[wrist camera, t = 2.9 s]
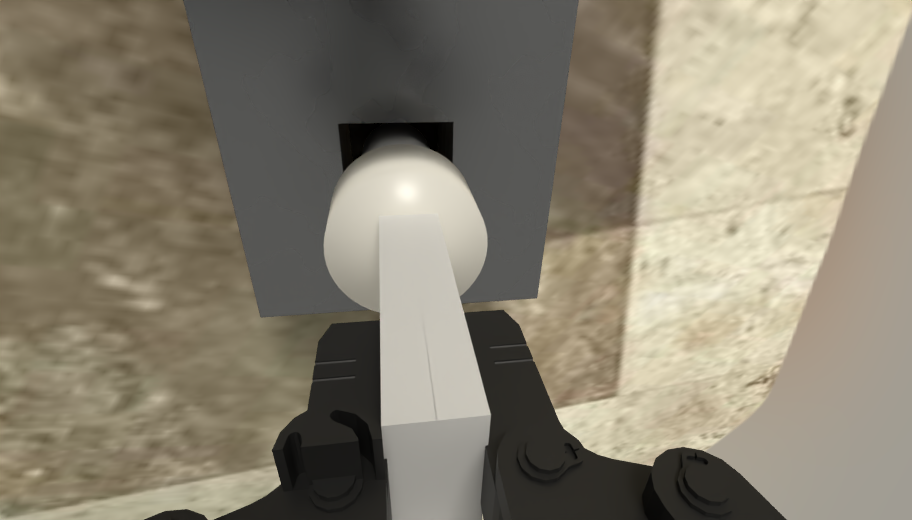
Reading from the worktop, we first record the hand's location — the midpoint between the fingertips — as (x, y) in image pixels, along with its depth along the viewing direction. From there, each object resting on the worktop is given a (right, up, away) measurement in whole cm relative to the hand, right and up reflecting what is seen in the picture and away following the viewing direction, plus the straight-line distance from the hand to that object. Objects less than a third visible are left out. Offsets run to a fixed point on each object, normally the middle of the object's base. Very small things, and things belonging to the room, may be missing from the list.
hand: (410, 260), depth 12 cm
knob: (-1, +4, +7) cm, 8 cm away
